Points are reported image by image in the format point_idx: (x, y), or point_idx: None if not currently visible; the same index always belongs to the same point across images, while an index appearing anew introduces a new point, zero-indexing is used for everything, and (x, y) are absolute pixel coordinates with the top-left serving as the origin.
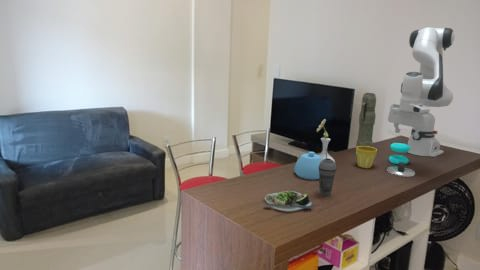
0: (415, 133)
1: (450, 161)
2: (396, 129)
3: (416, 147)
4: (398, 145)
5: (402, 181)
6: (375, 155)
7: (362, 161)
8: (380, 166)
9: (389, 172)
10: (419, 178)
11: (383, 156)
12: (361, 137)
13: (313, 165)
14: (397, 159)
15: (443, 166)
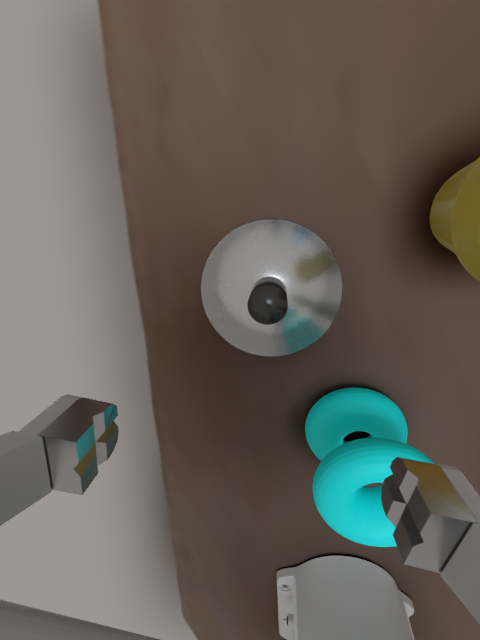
0: (20, 432)
1: (215, 558)
2: (467, 514)
3: (351, 600)
4: None
5: (186, 152)
6: (455, 216)
7: None
8: (391, 290)
9: (302, 226)
10: (168, 278)
11: (450, 455)
12: None
13: None
14: (347, 405)
15: (199, 494)
